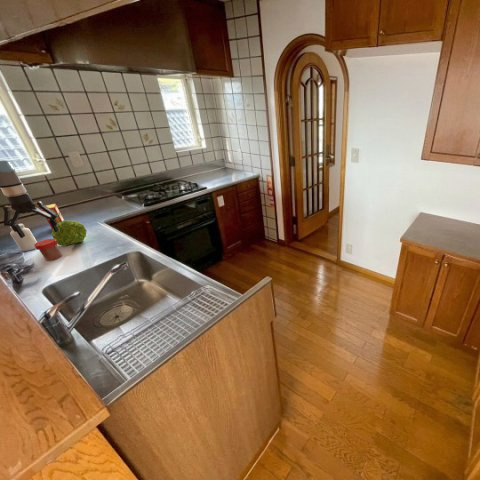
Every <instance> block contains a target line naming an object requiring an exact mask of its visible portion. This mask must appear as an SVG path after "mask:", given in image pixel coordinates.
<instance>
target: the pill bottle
mask: <svg viewBox="0 0 480 480" xmlns="http://www.w3.org/2000/svg"><path fill="white" fill-rule="evenodd" d="M17 224H18V225H19V226H20V228H21V229H22V231H23V233H24V234H25V236H24V237H23V238H20V236H19V234H18V233H17V232H14V230H13V229H12V227H11V226H9V228H10V230H11V231H10V233H9V234H10V237H11V238H12V239H13V241H14V242H15V244H16V245H17V247H18V248H19V250H20V251H21V252H27V251H32V250H34V249H36V248H35V246H34V244H35V243H37V242H38V241H37V239H36V237H35V235H34V234H33V233H32V231H31V230H30V228H29V227H25V225H24V224H23V223H17Z"/></svg>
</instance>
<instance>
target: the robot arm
mask: <svg viewBox="0 0 480 480" xmlns="http://www.w3.org/2000/svg"><path fill="white" fill-rule="evenodd" d="M0 190H1V192H2V194H3V196H6V197H5V198H6V200H7V202H8V203H9V205H7V204H6V205H4V206H3V207H2V209H3V213H4V214H3V226H4V227H10V226H11V227H12V229H13V230H14V232H17V233H18V234H19V236H20V238H23V237H24V236H25V234H24V233H23V231H22V229H21V228H20V226H19V225H18V224H19V223H17V222H18V220H19V217H20V216H21V214H30V213H35V214H37V215H39V216H41V217H44V218H45V219H46V218H48V219H50V220H49V222H50V224H51V226H52V228H53V229H54V231H55V232H57V231H58V230H59V229H58V227H57V226H56V225H57V224H58V223H57V221H56V220H55V218H57V217H58V214H56V213H55V212H53V211H52V210H51V209H49V208H48V207H47V206H46V204H44V202H43V201H42V200H39V201H36V202H34V201H33V200H32V197H31V196H30V195H29V193H28V191H27V189H26V187H25V185H24V184H23V182H22V181H21V178H20V177H19V175H18V174H17V172H16V169H15V168H14V166H13V165H12V163H11V162H10V161H8V160H6V159H5V160H0ZM36 206H37V207H36ZM41 209H43V210H44V211H45V212H43V211H42V210H41ZM12 210H14V211H15V212H14V214H13V217H12V219H11V213H12ZM46 212H47V213H46ZM51 226H50V227H51ZM52 228H51V229H52Z"/></svg>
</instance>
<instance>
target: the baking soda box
mask: <svg viewBox="0 0 480 480" xmlns="http://www.w3.org/2000/svg"><path fill="white" fill-rule="evenodd" d="M45 206H47V207H48V208H49V209H51V210H52V211H53V212H55V213H56V214H58V217H57V218H55V220H56V221H57V223H60V222H62V221H63V220H65V219H64V217H63V215H62V212H61V210H60V209H59V207H58V206H57V204H56V203H52V204H45ZM40 210H41V211H43V212H45V211H44V210H43V209H41V208H40ZM46 213H47V212H46ZM45 219H46V221H47V223H48V224H49V227H50V228H51V230H52V229H53V228H52V226H51V224H50V222H49V220H50V219H48V218H46V217H45Z"/></svg>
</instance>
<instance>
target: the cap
mask: <svg viewBox="0 0 480 480" xmlns="http://www.w3.org/2000/svg"><path fill="white" fill-rule="evenodd" d="M55 245H57V246H58V244H57V241H56V240H55V239H53V238H46V239H42V240H40V241H37V243H35V244H34V246H35V249H36V250H38V251H39V250H43V249H48V248H51V247H53V246H55Z"/></svg>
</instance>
